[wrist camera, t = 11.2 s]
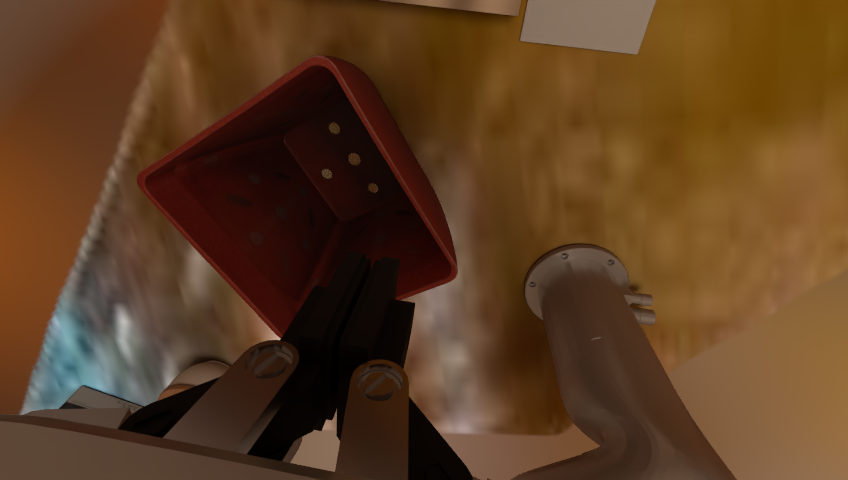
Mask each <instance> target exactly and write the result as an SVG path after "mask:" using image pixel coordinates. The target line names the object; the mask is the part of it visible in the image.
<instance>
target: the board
mask: <svg viewBox="0 0 848 480" xmlns="http://www.w3.org/2000/svg"><path fill="white" fill-rule="evenodd" d="M381 1H390V2H398V3H407V4H416V5H425V6H434V7H442V8H451V9H460V10H469V11H477V12H486V13H495V14H504V15H512V16H518V14H519V9H520V4H521V0H381Z"/></svg>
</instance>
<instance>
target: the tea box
mask: <svg viewBox="0 0 848 480" xmlns="http://www.w3.org/2000/svg"><path fill="white" fill-rule="evenodd" d="M92 408H130V411H131V412H136V411H137V410H139V409H141V408H143V407H141V406H138V405H135V404H133V403H130V402H127V401H124V400H121V399H118V398H115V397H112V396H110V395H107V394H104V393H101V392H98V391H95V390H92V389H90V388H87V387H84V386H81V387H80V388H79V389H78V390H77V391H76V392H75V393H74V394H73V395H72V396H71V397H70V398H69V399H68V400H67V401H66V402H65V403H64V404H63V405H62V406H61V407H60V408H59V409H92Z"/></svg>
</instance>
